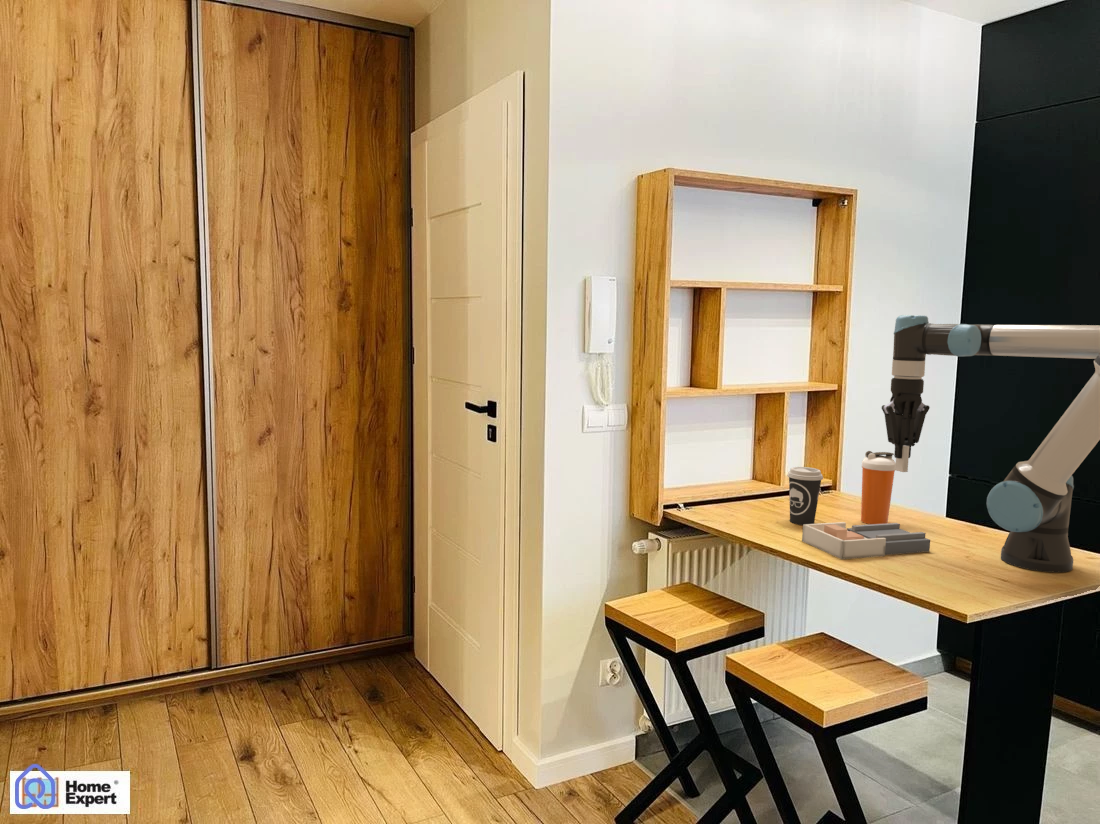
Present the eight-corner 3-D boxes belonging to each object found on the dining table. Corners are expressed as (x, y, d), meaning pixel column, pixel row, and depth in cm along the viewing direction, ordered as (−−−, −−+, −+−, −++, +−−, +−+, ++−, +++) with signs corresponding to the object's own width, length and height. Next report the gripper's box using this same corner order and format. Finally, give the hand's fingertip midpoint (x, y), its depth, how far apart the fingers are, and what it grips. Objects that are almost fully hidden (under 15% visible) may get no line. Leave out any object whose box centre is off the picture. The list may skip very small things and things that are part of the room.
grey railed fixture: (929, 551, 212) (930, 535, 211) (882, 554, 208) (884, 538, 207) (890, 536, 225) (891, 521, 225) (846, 539, 221) (847, 523, 220)
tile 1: (847, 529, 209) (836, 530, 208) (845, 549, 209) (835, 550, 208) (834, 524, 213) (824, 524, 212) (833, 543, 214) (822, 544, 213)
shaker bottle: (896, 526, 236) (902, 455, 233) (863, 525, 236) (869, 454, 233) (884, 518, 245) (889, 450, 242) (852, 517, 245) (858, 449, 242)
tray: (884, 556, 207) (886, 538, 206) (841, 559, 203) (842, 541, 202) (842, 538, 222) (844, 522, 221) (801, 541, 218) (803, 524, 217)
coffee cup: (821, 528, 232) (825, 473, 230) (785, 525, 234) (789, 471, 232) (817, 519, 241) (821, 467, 239) (783, 517, 243) (786, 465, 241)
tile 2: (863, 548, 211) (864, 536, 210) (845, 549, 209) (846, 537, 209) (850, 542, 216) (851, 531, 215) (833, 543, 214) (834, 532, 214)
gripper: (918, 376, 217) (911, 467, 220) (875, 376, 213) (869, 469, 216) (940, 378, 210) (933, 472, 213) (896, 378, 206) (890, 474, 209)
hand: (901, 471), depth 214 cm, fingers closed
